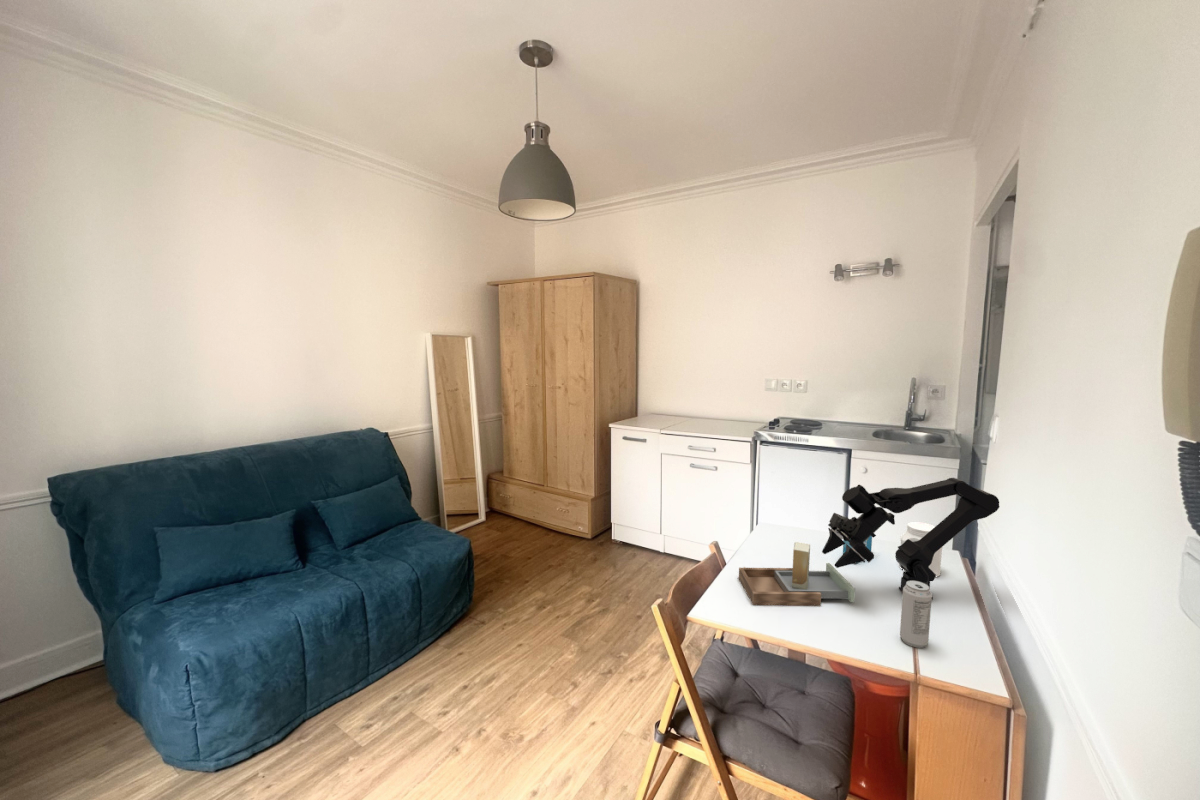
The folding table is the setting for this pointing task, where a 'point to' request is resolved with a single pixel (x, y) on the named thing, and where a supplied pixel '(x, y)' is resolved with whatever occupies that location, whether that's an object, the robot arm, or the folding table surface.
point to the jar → (916, 533)
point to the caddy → (773, 589)
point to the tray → (820, 583)
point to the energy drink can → (915, 614)
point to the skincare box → (801, 565)
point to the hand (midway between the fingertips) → (829, 559)
